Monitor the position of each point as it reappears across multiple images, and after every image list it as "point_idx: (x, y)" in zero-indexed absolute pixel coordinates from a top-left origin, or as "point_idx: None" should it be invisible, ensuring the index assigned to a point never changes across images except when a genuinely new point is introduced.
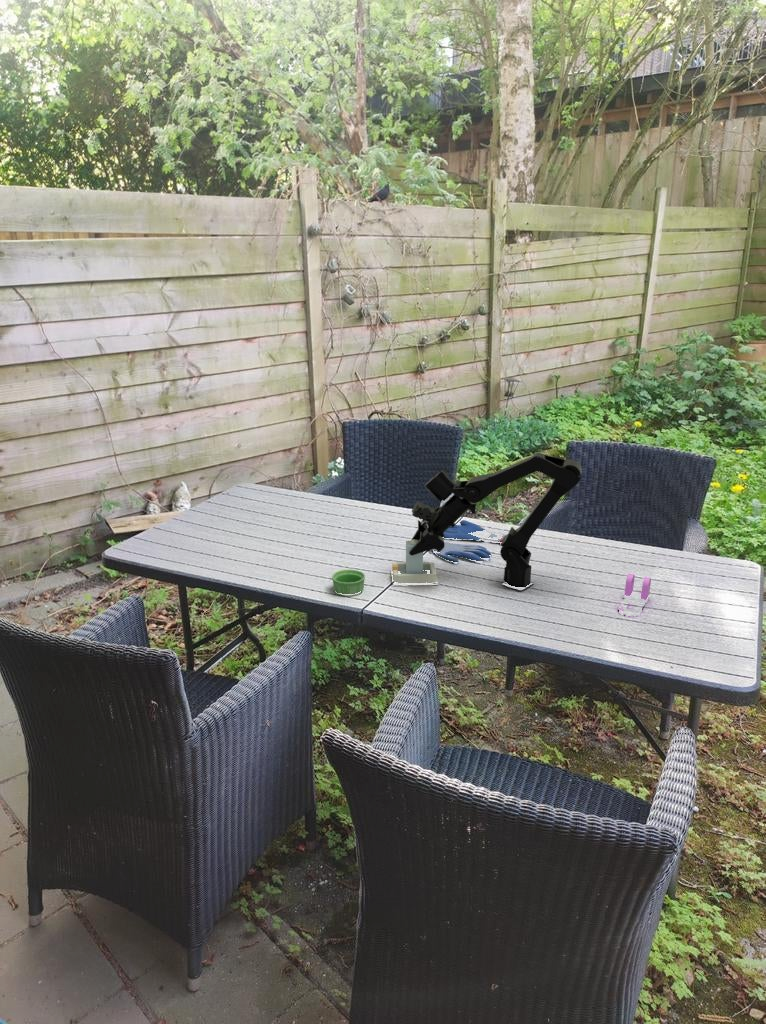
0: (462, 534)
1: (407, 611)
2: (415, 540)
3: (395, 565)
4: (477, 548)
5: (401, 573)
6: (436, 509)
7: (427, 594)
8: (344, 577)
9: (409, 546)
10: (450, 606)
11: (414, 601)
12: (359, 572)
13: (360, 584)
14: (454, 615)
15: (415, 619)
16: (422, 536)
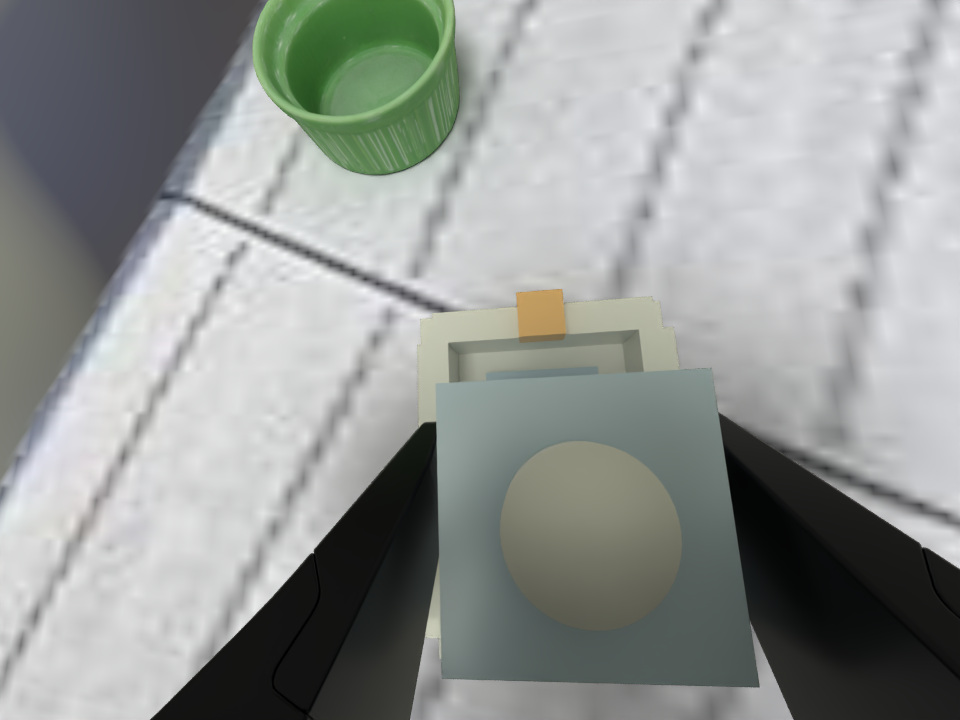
0: None
1: (129, 410)
2: (616, 554)
3: (545, 314)
4: None
5: (551, 373)
6: None
7: (311, 536)
8: (436, 36)
9: (445, 424)
10: (147, 669)
11: (231, 451)
12: (416, 83)
13: (302, 126)
14: (45, 676)
15: (46, 448)
16: None
